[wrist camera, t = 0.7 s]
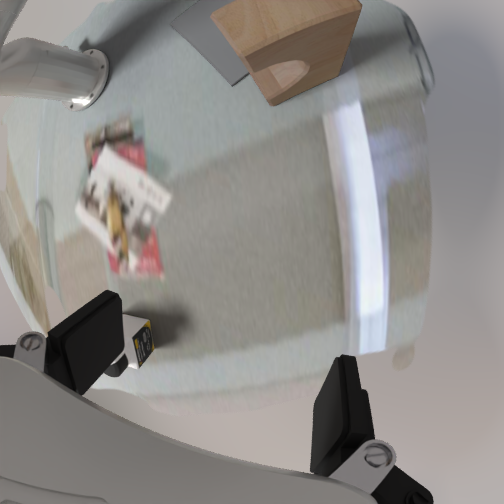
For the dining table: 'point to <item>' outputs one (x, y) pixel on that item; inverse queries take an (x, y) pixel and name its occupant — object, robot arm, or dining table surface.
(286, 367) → the dining table surface
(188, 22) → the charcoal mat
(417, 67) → the dining table surface
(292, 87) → the decorative block
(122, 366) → the medicine bottle
